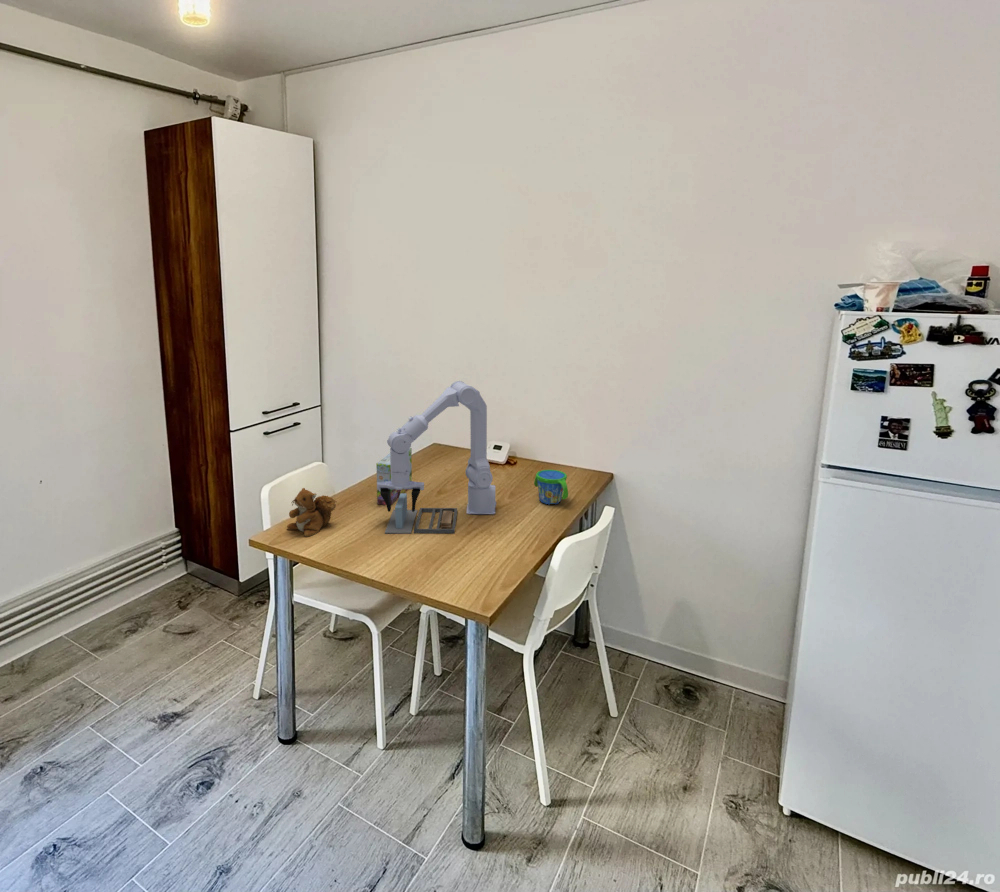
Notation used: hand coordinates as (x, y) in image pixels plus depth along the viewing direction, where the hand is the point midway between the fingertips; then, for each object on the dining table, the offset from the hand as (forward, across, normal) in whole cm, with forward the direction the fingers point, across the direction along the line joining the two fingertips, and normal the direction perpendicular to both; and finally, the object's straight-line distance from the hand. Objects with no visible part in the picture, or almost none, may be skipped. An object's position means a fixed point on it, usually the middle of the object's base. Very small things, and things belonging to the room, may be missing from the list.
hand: (401, 510), depth 189 cm
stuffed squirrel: (+4, -27, -5) cm, 28 cm away
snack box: (+4, -6, +24) cm, 25 cm away
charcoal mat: (+4, 0, 0) cm, 4 cm away
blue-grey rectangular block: (+3, 0, 0) cm, 3 cm away
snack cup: (+4, +50, +18) cm, 53 cm away
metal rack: (+4, +11, 0) cm, 12 cm away
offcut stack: (+4, +14, 0) cm, 15 cm away
